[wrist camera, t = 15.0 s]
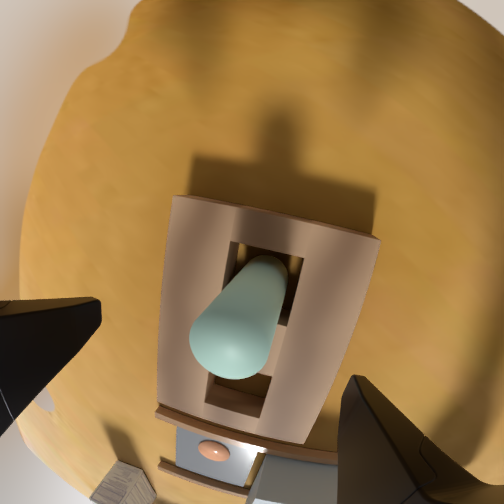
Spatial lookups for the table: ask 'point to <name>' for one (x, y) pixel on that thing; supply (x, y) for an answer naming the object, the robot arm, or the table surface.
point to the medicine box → (123, 487)
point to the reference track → (224, 453)
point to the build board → (289, 323)
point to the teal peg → (241, 320)
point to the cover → (294, 482)
